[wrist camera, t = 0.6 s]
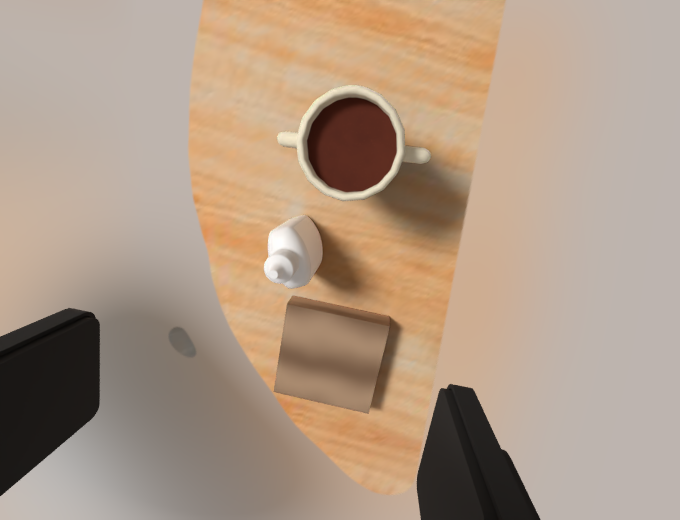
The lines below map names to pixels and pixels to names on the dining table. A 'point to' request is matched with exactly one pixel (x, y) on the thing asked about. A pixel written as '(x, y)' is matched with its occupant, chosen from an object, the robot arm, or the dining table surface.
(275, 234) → the eye dropper bottle
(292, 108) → the dining table surface
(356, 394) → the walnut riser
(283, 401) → the dining table surface
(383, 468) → the dining table surface
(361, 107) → the character mug
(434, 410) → the robot arm
